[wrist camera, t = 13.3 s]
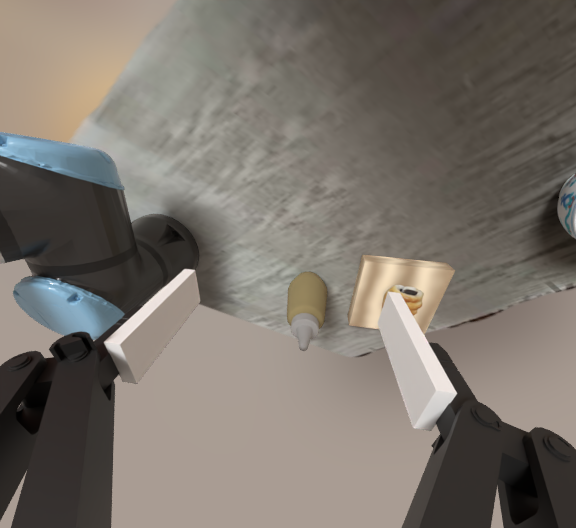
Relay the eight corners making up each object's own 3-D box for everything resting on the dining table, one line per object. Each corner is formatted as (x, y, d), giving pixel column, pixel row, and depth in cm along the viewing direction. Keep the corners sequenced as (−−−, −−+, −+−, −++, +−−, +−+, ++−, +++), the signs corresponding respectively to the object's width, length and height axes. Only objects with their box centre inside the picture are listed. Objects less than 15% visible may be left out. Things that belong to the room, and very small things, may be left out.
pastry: (404, 323, 46) (411, 336, 43) (372, 317, 47) (376, 330, 44) (423, 287, 42) (432, 299, 39) (387, 280, 42) (393, 292, 39)
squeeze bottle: (283, 287, 50) (267, 351, 34) (301, 260, 46) (292, 318, 30) (314, 303, 51) (312, 373, 35) (334, 278, 47) (342, 344, 31)
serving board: (347, 316, 51) (349, 325, 49) (362, 254, 44) (365, 261, 41) (418, 324, 50) (424, 334, 47) (446, 263, 42) (455, 270, 40)
